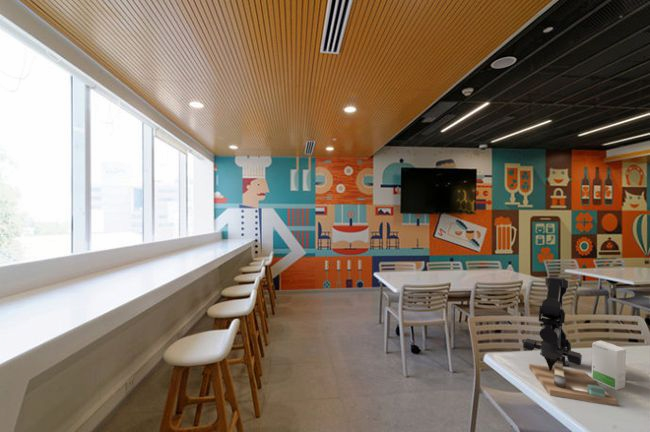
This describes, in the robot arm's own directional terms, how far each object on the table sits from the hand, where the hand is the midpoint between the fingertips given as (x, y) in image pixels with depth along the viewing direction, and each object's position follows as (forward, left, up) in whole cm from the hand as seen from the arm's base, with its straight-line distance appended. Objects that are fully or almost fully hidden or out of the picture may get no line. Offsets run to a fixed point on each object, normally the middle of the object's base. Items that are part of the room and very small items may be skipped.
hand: (550, 370), depth 116 cm
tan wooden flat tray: (+4, +4, -3) cm, 7 cm away
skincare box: (-2, +21, -3) cm, 21 cm away
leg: (+3, +2, -1) cm, 4 cm away
